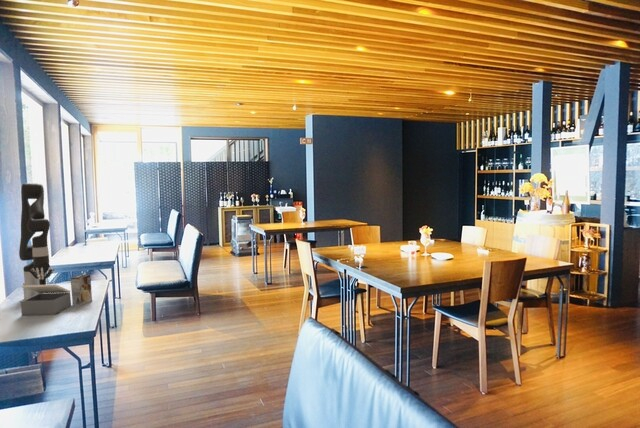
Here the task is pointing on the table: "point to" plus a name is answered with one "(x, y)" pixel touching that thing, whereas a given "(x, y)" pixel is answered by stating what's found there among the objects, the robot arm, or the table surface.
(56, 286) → the lid
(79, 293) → the coffee box
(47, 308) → the box
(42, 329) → the table surface
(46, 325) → the table surface
